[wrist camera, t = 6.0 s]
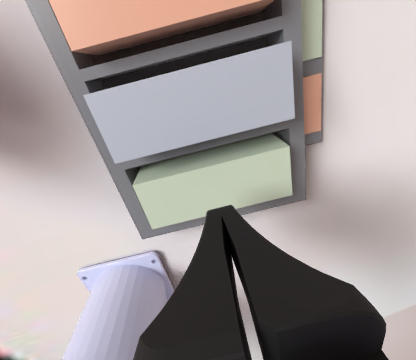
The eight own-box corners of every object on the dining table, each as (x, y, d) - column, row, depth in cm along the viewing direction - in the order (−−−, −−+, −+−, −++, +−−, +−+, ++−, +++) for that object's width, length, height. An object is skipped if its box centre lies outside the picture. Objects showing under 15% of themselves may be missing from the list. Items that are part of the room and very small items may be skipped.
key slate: (272, 108, 15) (294, 118, 12) (129, 145, 15) (115, 163, 12) (266, 47, 13) (291, 40, 10) (106, 89, 13) (82, 95, 10)
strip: (318, 139, 18) (323, 142, 17) (294, 145, 18) (298, 148, 17) (319, -41, 13) (326, -47, 12) (285, -32, 13) (290, -37, 12)
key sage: (274, 174, 18) (292, 195, 15) (157, 203, 18) (152, 229, 15) (270, 132, 16) (289, 146, 13) (142, 164, 17) (132, 185, 14)
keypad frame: (291, 183, 19) (306, 199, 17) (147, 219, 20) (142, 239, 17) (273, -120, 11) (296, -170, 9) (26, -50, 11) (-15, -81, 9)
